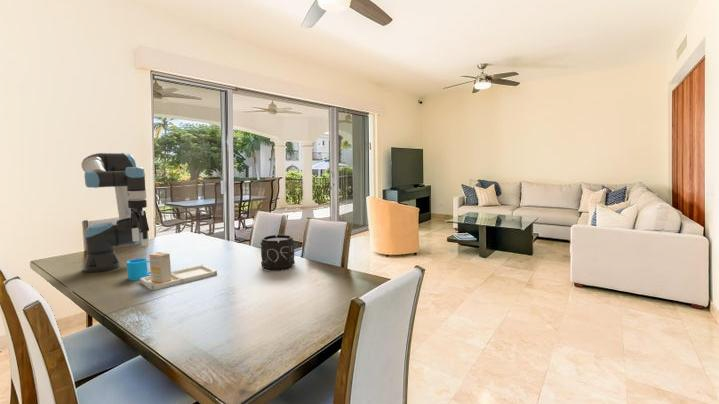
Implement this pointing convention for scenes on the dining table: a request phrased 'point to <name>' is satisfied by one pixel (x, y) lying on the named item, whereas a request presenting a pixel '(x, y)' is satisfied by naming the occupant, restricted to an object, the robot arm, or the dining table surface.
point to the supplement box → (160, 267)
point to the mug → (137, 269)
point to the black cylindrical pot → (277, 252)
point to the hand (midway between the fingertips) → (140, 243)
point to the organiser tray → (180, 277)
